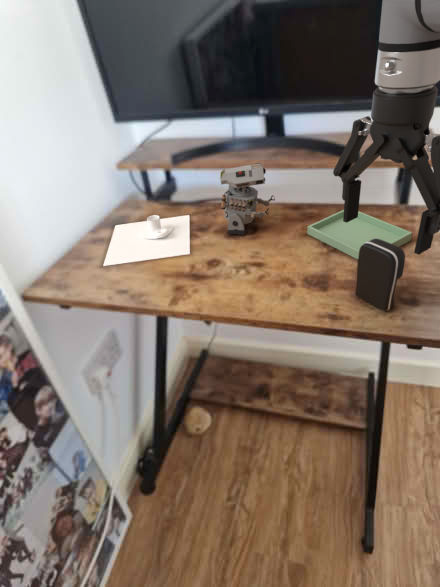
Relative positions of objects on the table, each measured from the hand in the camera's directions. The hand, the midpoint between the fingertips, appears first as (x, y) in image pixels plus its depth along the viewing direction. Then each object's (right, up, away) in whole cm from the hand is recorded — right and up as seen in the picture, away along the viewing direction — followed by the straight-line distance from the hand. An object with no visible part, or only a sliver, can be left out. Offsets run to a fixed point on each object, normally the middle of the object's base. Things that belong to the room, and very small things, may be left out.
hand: (383, 233), depth 64 cm
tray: (+4, +3, +25) cm, 26 cm away
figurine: (-19, +7, +35) cm, 40 cm away
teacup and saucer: (-43, +4, +36) cm, 56 cm away
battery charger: (+2, -11, +8) cm, 13 cm away
